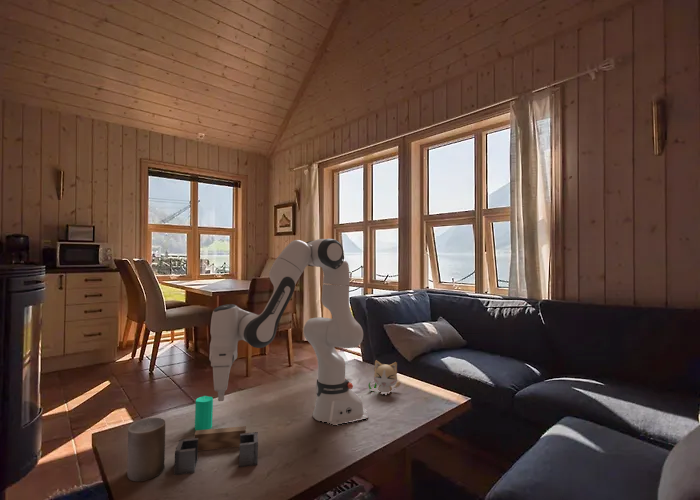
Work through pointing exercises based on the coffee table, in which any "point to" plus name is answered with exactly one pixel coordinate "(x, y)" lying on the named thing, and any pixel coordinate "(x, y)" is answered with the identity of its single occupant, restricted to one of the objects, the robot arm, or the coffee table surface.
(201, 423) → the candle
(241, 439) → the endcap
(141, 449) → the pillar candle
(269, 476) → the coffee table surface
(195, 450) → the endcap
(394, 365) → the kitten
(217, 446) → the slat
